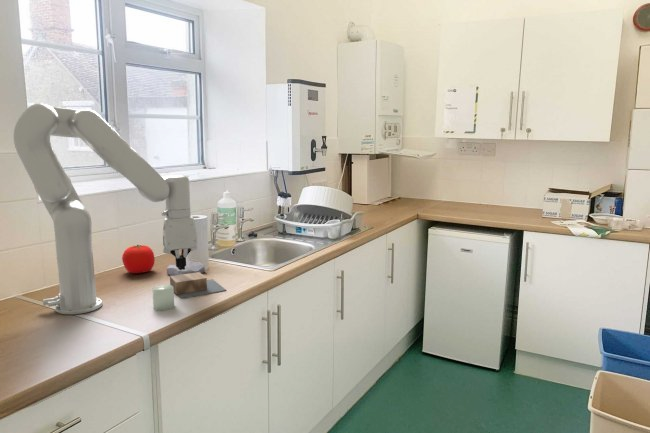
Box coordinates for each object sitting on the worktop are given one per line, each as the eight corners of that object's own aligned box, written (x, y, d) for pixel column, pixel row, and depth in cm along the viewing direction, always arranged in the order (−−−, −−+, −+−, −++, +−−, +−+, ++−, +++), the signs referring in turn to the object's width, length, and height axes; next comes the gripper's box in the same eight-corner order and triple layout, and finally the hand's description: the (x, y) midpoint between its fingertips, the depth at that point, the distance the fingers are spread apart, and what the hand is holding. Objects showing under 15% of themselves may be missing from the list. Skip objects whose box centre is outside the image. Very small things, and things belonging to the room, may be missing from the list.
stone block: (207, 276, 188) (191, 267, 193) (208, 265, 186) (192, 255, 192) (181, 285, 178) (164, 275, 184) (181, 273, 177) (165, 263, 183)
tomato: (151, 266, 194) (150, 240, 192) (158, 274, 184) (157, 246, 182) (120, 270, 188) (119, 243, 186) (126, 278, 178) (124, 250, 176)
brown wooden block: (176, 282, 159) (206, 277, 164) (169, 276, 166) (199, 272, 171) (176, 295, 160) (207, 290, 165) (170, 288, 167) (199, 283, 172)
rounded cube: (156, 311, 146) (154, 292, 145) (151, 305, 151) (150, 286, 150) (176, 308, 149) (175, 289, 148) (171, 302, 154) (170, 283, 153)
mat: (181, 298, 158) (181, 297, 158) (169, 286, 169) (169, 285, 169) (226, 290, 165) (226, 289, 165) (212, 279, 177) (212, 279, 177)
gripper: (157, 217, 153) (160, 275, 156) (204, 213, 161) (207, 268, 164) (152, 214, 160) (155, 269, 163) (197, 210, 167) (200, 263, 170)
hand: (181, 268), depth 163 cm, fingers closed
